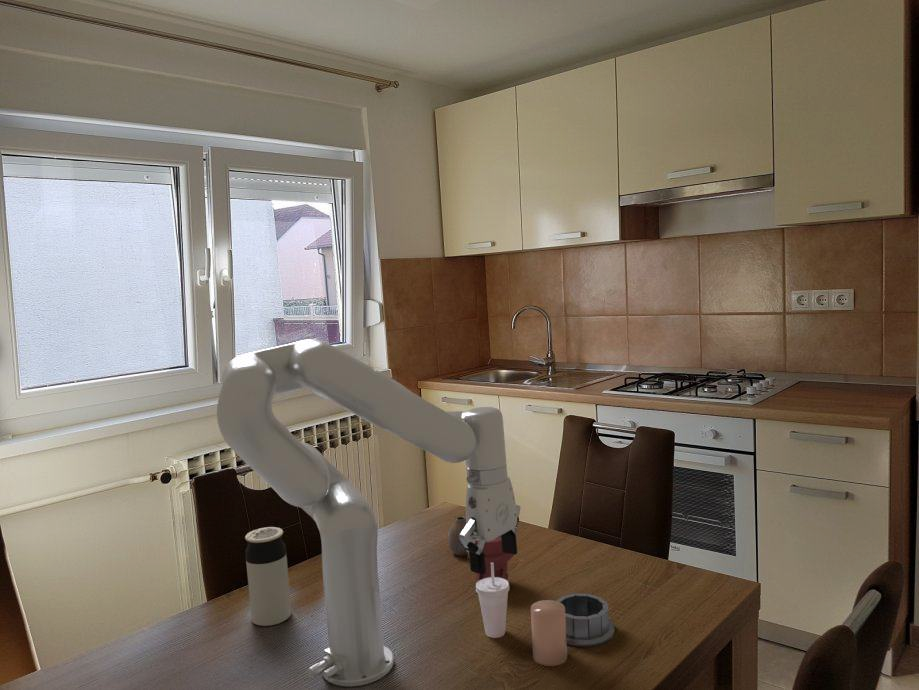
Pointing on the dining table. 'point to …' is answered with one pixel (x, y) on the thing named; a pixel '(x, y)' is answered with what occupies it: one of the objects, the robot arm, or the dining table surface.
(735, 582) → the dining table surface
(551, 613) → the peach rounded cylinder
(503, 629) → the smoothie
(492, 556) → the mechanical component
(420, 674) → the dining table surface
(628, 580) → the dining table surface
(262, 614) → the travel mug
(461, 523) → the vase
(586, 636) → the ring socket
